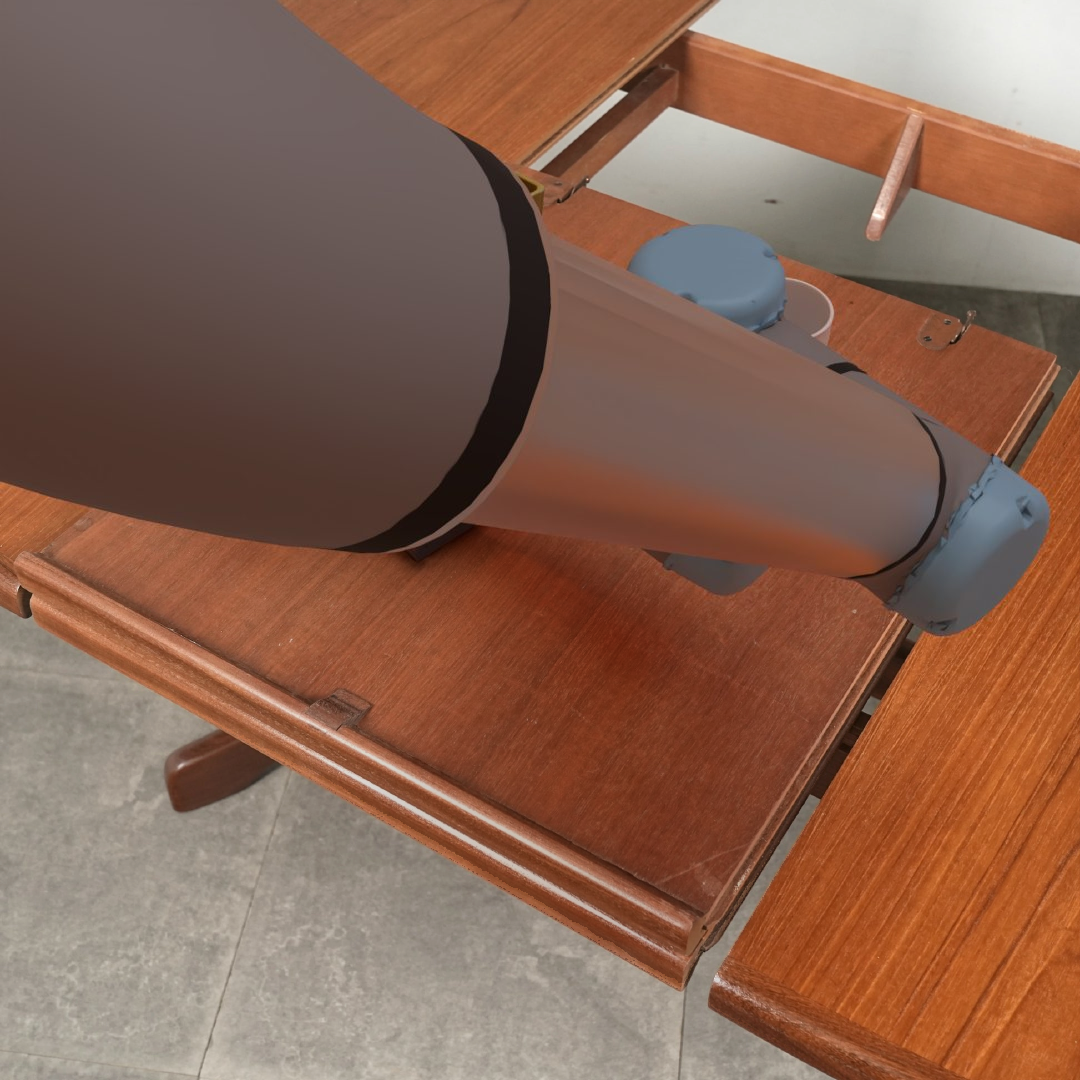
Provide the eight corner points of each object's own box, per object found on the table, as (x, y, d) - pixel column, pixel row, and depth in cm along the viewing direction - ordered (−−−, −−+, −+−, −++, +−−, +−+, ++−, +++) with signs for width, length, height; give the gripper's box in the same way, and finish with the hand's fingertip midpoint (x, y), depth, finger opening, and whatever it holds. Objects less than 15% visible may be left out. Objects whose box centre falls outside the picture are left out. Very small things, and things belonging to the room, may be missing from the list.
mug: (824, 435, 87) (852, 300, 78) (778, 490, 83) (802, 355, 74) (705, 381, 91) (718, 247, 82) (656, 431, 87) (664, 297, 78)
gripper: (403, 573, 68) (185, 402, 78) (685, 361, 79) (464, 235, 89) (387, 481, 62) (155, 309, 72) (693, 266, 74) (456, 144, 84)
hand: (325, 268), depth 81 cm, fingers open, 13 cm apart
